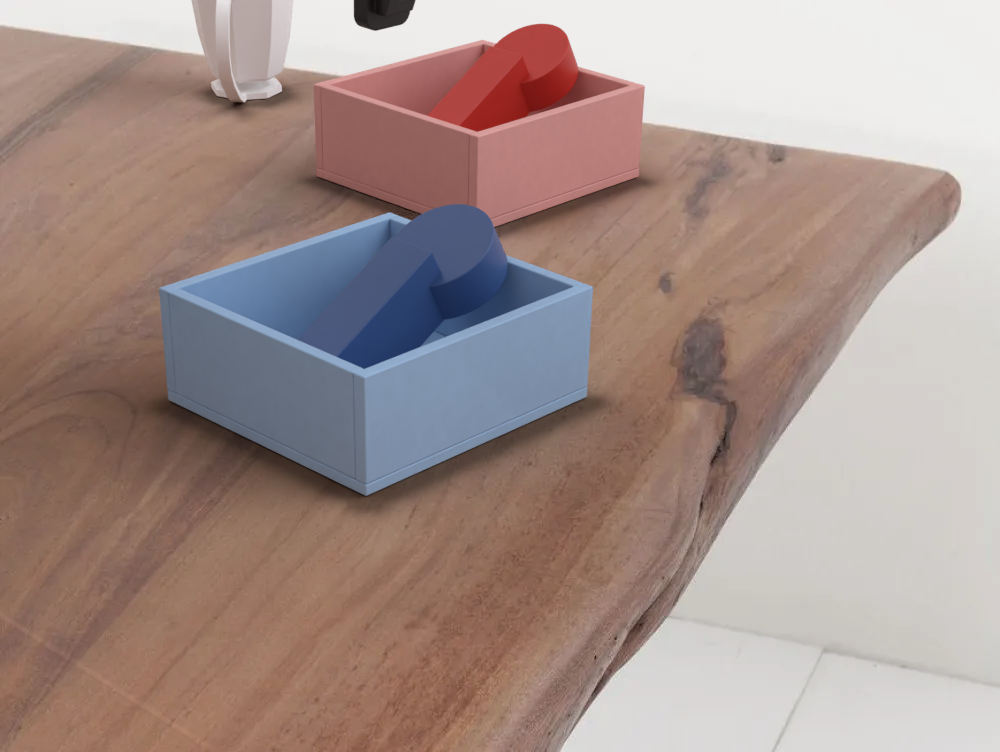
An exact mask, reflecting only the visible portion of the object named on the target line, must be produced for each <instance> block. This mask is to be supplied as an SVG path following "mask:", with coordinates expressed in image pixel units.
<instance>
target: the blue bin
mask: <svg viewBox="0 0 1000 752" xmlns="http://www.w3.org/2000/svg"><path fill="white" fill-rule="evenodd" d="M412 220H413V219H412ZM412 220H411V219H409V218H407V217H403V216H401V215H398V214H395V213H393V212H390V211H389V212H386V213H383V214H379V215H377V216H374V217H371V218H368V219H365V220H362V221H359V222H356V223H355V222H354V223H352V224H350V225H346V226H343V227H340V228H338V229H335V230H331V231H328V232H325V233H321V234H318V235H316V236H313V237H310V238H307V239H304V240H301V241H298V242H297V241H296V242H295V243H292V244H289V245H286V246H283V247H279V248H276V249H274V250H270V251H267V252H264V253H261V254H258V255H256V256H252V257H248V258H246V259H242V260H240V261H237V262H233V263H231V264H228V265H225V266H221V267H217V268H216V269H212V270H209V271H206V272H203V273H200V274H197V275H195V276H191V277H188V278H185V279H181V280H179V281H176V282H173V283H170V284H167V285H163V286H161V287H159V288H158V294H159V306H160V318H161V331H162V342H163V353H164V354H163V355H164V365H165V377H166V389H167V399H168V401H170V402H171V403H173V404H175V405H178V406H180V407H182V408H184V409H186V410H188V411H190V412H192V413H194V414H197V415H199V416H201V417H203V418H204V419H206V420H209V421H211V422H212V423H214V424H217V425H219V426H221V427H223V428H225V429H227V430H228V431H229V430H230V431H232V432H233V433H236V434H237V435H239V436H241V437H244V438H246V439H248V440H250V441H252V442H254V443H256V444H258V445H260V446H262V447H264V448H266V449H269V450H270V451H273V452H275V453H277V454H279V455H281V456H283V457H284V458H287V459H289V460H291V461H293V462H295V463H297V464H299V465H301V466H303V467H305V468H307V469H310V470H312V471H314V472H316V473H318V474H320V475H322V476H324V477H326V478H327V479H330V480H332V481H334V482H336V483H338V484H340V485H343V486H344V487H346V488H348V489H350V490H353V491H355V492H356V493H358V494H360V495H363V496H365V497H367V496H370V495H371V494H374V493H376V492H378V491H381V490H383V489H385V488H387V487H389V486H392V485H394V484H396V483H399V482H400V481H403V480H405V479H407V478H409V477H411V476H414V475H416V474H419V473H420V472H423V471H425V470H427V469H430V468H432V467H434V466H436V465H438V464H441V463H443V462H445V461H447V460H450V459H452V458H455V457H457V456H458V455H461V454H463V453H465V452H467V451H470V450H472V449H474V448H476V447H478V446H481V445H483V444H485V443H488V442H489V441H492V440H494V439H496V438H499V437H501V436H503V435H505V434H507V433H510V432H512V431H514V430H516V429H518V428H521V427H523V426H525V425H528V424H529V423H532V422H534V421H536V420H538V419H541V418H543V417H546V416H547V415H549V414H552V413H554V412H556V411H558V410H561V409H563V408H565V407H567V406H570V405H573V403H576V402H578V401H581V400H584V399H586V398H587V397H588V384H589V383H588V382H589V367H590V348H591V330H592V316H593V315H592V311H593V298H594V297H593V296H594V295H593V294H594V287H593V285H589V284H588V283H584V282H581V281H579V280H576V279H573V278H570V277H568V276H565V275H562V274H560V273H556V272H554V271H551V270H549V269H546V268H543V267H541V266H537V265H535V264H533V263H529V262H528V261H524V260H521V259H519V258H516V257H513V256H510V255H507V254H506V256H507V260H508V268H507V274H506V277H505V279H504V282H503V284H502V285H501V287H500V288H499V290H498V291H497V292H496V293H495V295H494V296H493V297H492V298H491V299H490V300H488V301H487V302H486V303H485V304H483V305H482V306H480V307H479V308H477V309H475V310H474V311H472V312H470V313H467V314H465V315H462V316H459V317H456V318H452V319H446V320H444V321H443V322H442V323H441V324H440V325H439V326H438V327H437V329H436V330H435V331H434V332H433V333H432V334H431V335H430V336H429V338H428V339H427V340H426V341H425V342H424V343H423V344H422V345H421V346H420V347H419V348H416V349H414V350H411V351H409V352H406V353H404V354H401V355H399V356H396V357H394V358H391V359H388V360H386V361H383V362H381V363H378V364H376V365H373V366H371V367H368V368H366V369H363V368H361V367H359V366H356V365H354V364H352V363H349V362H347V361H345V360H343V359H340V358H338V357H336V356H333V355H331V354H329V353H326V352H324V351H322V350H319V349H317V348H315V347H313V346H310V345H308V344H306V343H303V342H301V341H299V340H298V339H299V337H300V336H301V335H302V334H303V333H304V332H305V331H306V330H307V329H308V328H309V327H310V326H311V324H312V323H313V322H314V321H315V320H316V319H317V318H318V317H319V316H320V315H321V314H322V312H323V311H324V310H325V309H326V308H327V307H328V306H329V305H330V304H331V303H332V302H333V300H334V299H335V298H336V297H337V296H338V295H339V294H340V293H341V292H342V291H343V290H344V289H345V287H346V286H347V285H348V284H349V283H350V282H351V281H352V280H353V279H354V278H355V277H356V275H357V274H358V273H359V272H360V271H361V270H362V269H363V268H364V267H365V266H366V265H367V263H368V262H369V261H370V260H371V259H372V258H373V257H374V256H375V255H376V254H377V253H378V252H379V250H380V249H381V248H382V247H383V246H384V245H385V244H386V243H387V242H388V241H389V240H390V238H392V237H394V238H395V237H396V235H397V234H398V233H399V231H400V230H401V229H402V228H403V227H404V226H405V225H407V224H408V223H409V222H410V221H412Z"/></svg>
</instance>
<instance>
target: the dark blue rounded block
mask: <svg viewBox="0 0 1000 752" xmlns="http://www.w3.org/2000/svg"><path fill="white" fill-rule="evenodd" d="M499 237H500V236H499V235H498V232H497V230H496V227H494V225H493V223H492V221H491V219H490V217H489V216H488V215H487V214H486V213H485V212H484V211H482V210H481V209H479V208H476V207H474V206H470V205H464V204H453V205H446V206H441V207H437V208H434V209H432V210H429V211H427V212H425V213H423V214H419V215H417V216H416V217H414V218H413V219H412V221H410V222H409V223H408V224H407V225H405V226H404V227H403V228H402V229H401V230H400V231H399V233H398V234H397V235H396V237H395V238H394V237H392V238H390V240H389V241H388V242H387V243H386V244H385V245H384V246H383V247H382V248H381V249H380V250H379V252H378V253H377V254H376V255H375V256H374V257H373V258H372V259H371V260H370V261H369V262H368V263H367V265H366V266H365V267H364V268H363V269H362V270H361V271H360V272H359V273H358V274H357V275H356V277H355V278H354V279H353V280H352V281H351V282H350V283H349V284H348V285H347V286H346V287H345V289H344V290H343V291H342V292H341V293H340V294H339V295H338V296H337V297H336V298H335V299H334V300H333V302H332V303H331V304H330V305H329V306H328V307H327V308H326V309H325V310H324V311H323V312H322V314H321V315H320V316H319V317H318V318H317V319H316V320H315V321H314V322H313V323H312V324H311V326H310V327H309V328H308V329H307V330H306V331H305V332H304V333H303V334H302V335H301V336H300V337H299V339H298V340H299V341H301V342H303V343H306V344H308V345H310V346H313V347H315V348H317V349H319V350H322V351H324V352H326V353H329V354H331V355H333V356H336V357H338V358H340V359H343V360H345V361H347V362H349V363H352V364H354V365H356V366H359V367H361V368H363V369H366V368H368V367H371V366H373V365H376V364H378V363H381V362H383V361H386V360H388V359H391V358H394V357H396V356H399V355H401V354H404V353H406V352H409V351H411V350H414V349H416V348H419V347H420V346H421V345H422V344H423V343H424V342H425V341H426V340H427V339H428V338H429V336H430V335H431V334H432V333H433V332H434V331H435V330H436V329H437V327H438V326H439V325H440V324H441V323H442V322H443V321H444V320H446V319H452V318H456V317H459V316H462V315H465V314H467V313H470V312H472V311H474V310H475V309H477V308H479V307H480V306H482V305H483V304H485V303H486V302H487V301H488V300H490V299H491V298H492V297H493V296H494V295H495V293H496V292H497V291H498V290H499V288H500V287H501V285H502V284H503V282H504V279H505V277H506V274H507V268H508V260H507V256H506V255H507V253H506V252H505V249H504V246H503V244H502V241H501V240H500V238H499Z"/></svg>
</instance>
